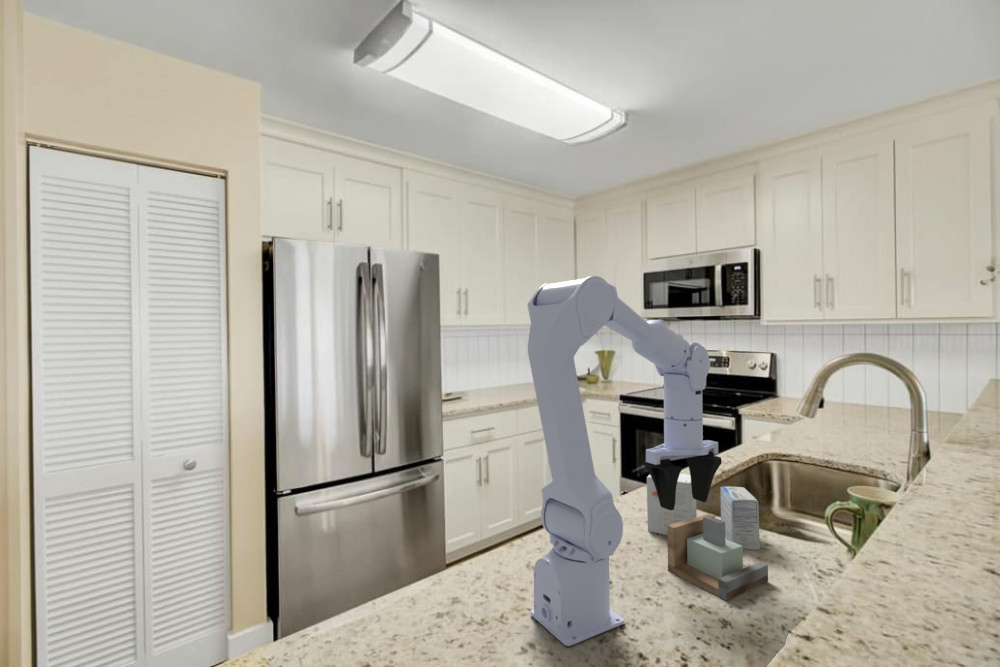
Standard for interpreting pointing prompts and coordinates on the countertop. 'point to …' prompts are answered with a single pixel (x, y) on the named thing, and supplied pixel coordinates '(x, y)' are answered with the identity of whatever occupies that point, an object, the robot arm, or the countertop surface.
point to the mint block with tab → (714, 550)
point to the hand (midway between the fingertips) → (683, 504)
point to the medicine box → (740, 517)
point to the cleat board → (720, 587)
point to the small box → (682, 509)
